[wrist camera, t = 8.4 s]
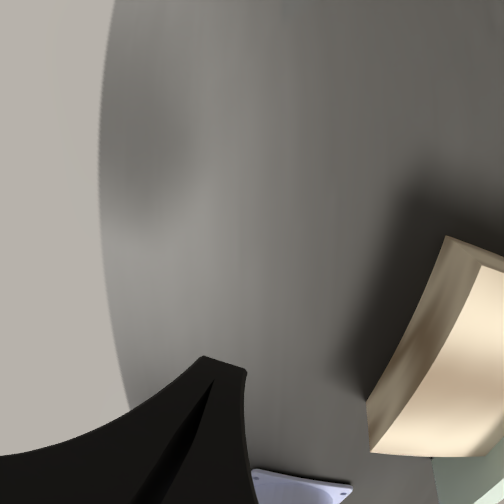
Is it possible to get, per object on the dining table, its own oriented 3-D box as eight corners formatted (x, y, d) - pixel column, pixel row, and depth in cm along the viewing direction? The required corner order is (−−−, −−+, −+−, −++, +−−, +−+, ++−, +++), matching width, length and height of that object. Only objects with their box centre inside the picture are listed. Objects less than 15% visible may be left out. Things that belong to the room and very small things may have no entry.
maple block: (469, 411, 15) (485, 456, 11) (365, 398, 16) (370, 452, 12) (548, 275, 11) (587, 307, 8) (443, 233, 12) (481, 265, 9)
